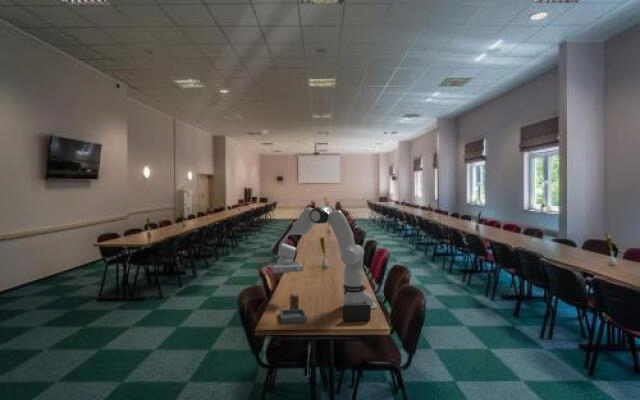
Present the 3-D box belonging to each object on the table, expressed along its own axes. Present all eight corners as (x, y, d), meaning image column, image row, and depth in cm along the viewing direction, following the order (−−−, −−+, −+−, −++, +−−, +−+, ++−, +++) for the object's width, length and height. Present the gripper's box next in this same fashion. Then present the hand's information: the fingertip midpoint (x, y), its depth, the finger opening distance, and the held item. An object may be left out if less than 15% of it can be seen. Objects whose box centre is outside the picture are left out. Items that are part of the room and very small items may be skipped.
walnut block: (296, 310, 225) (296, 294, 225) (298, 312, 221) (298, 296, 221) (289, 310, 224) (289, 294, 224) (291, 313, 220) (291, 296, 219)
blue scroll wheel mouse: (368, 318, 212) (369, 302, 211) (370, 321, 207) (371, 304, 207) (341, 319, 210) (341, 303, 210) (342, 322, 205) (342, 305, 205)
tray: (303, 313, 218) (303, 308, 218) (307, 322, 205) (307, 316, 205) (280, 315, 216) (280, 310, 216) (282, 323, 202) (282, 318, 202)
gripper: (271, 262, 244) (274, 266, 230) (300, 261, 249) (305, 265, 236) (270, 271, 244) (274, 276, 231) (300, 270, 250) (305, 275, 236)
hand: (290, 271), depth 233 cm, fingers open, 8 cm apart
